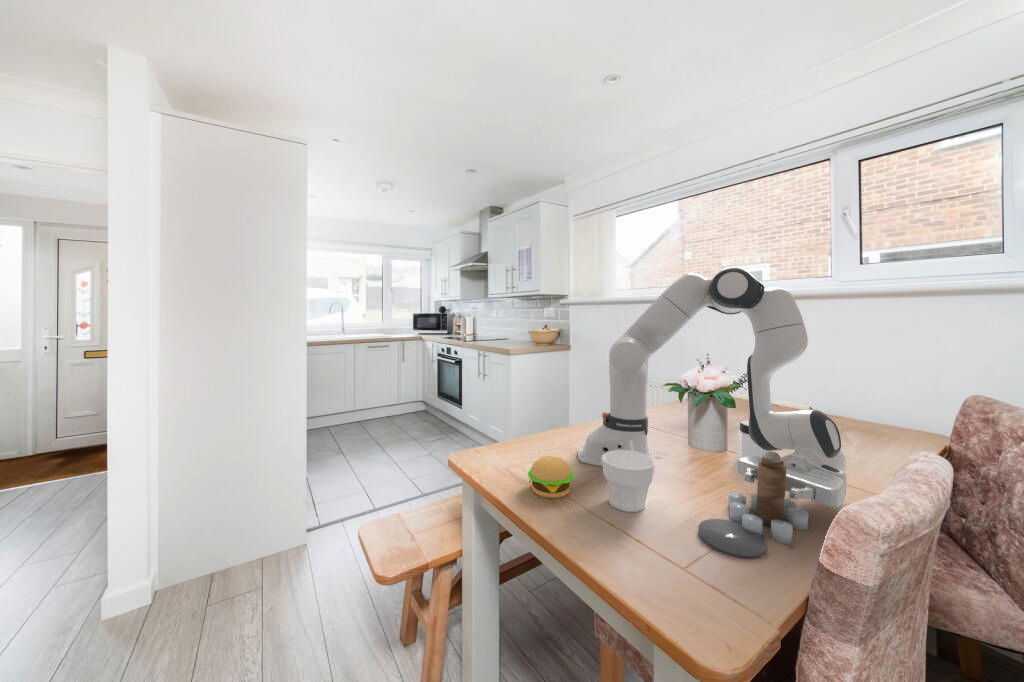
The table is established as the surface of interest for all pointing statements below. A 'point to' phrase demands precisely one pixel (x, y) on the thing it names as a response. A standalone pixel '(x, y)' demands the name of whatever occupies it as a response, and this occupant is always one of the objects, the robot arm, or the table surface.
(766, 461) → the pepper mill
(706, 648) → the table surface
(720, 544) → the disc
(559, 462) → the hamburger
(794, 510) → the tealight cups
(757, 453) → the jar
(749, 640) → the table surface
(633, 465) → the cup
